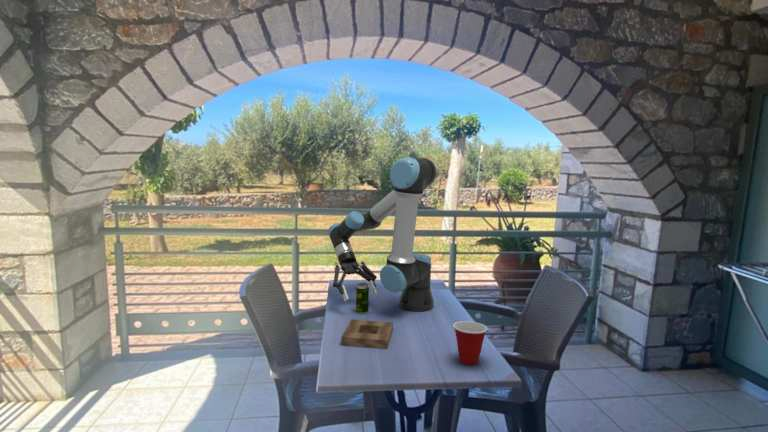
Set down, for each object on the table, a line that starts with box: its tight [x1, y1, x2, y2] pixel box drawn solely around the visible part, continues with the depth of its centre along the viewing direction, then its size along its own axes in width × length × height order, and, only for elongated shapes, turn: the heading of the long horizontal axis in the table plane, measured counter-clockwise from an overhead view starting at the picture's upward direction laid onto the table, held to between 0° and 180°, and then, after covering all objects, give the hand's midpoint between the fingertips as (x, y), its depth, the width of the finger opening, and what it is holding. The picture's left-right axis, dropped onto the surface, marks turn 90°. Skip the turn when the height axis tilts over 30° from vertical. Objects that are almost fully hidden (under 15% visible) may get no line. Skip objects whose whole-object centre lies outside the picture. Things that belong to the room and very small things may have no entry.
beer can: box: [355, 282, 370, 315], centre depth 175 cm, size 5×5×12 cm
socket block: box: [340, 319, 394, 350], centre depth 151 cm, size 16×16×3 cm
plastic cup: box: [453, 320, 488, 366], centre depth 133 cm, size 11×11×12 cm
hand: (361, 297), depth 175 cm, fingers open, 13 cm apart
